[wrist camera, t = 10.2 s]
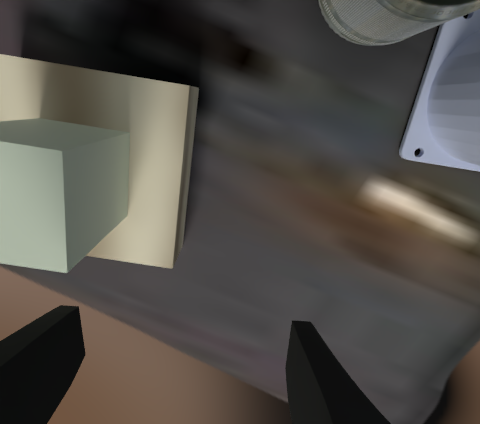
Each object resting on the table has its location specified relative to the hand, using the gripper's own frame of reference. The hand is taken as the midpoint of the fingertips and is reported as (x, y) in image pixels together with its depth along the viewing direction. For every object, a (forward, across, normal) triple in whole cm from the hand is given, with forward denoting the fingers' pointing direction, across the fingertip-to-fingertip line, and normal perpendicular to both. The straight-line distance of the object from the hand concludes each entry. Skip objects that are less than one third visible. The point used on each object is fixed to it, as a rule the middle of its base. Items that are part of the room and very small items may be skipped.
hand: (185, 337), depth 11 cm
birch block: (+10, +7, -4) cm, 13 cm away
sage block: (+7, +7, -4) cm, 11 cm away
